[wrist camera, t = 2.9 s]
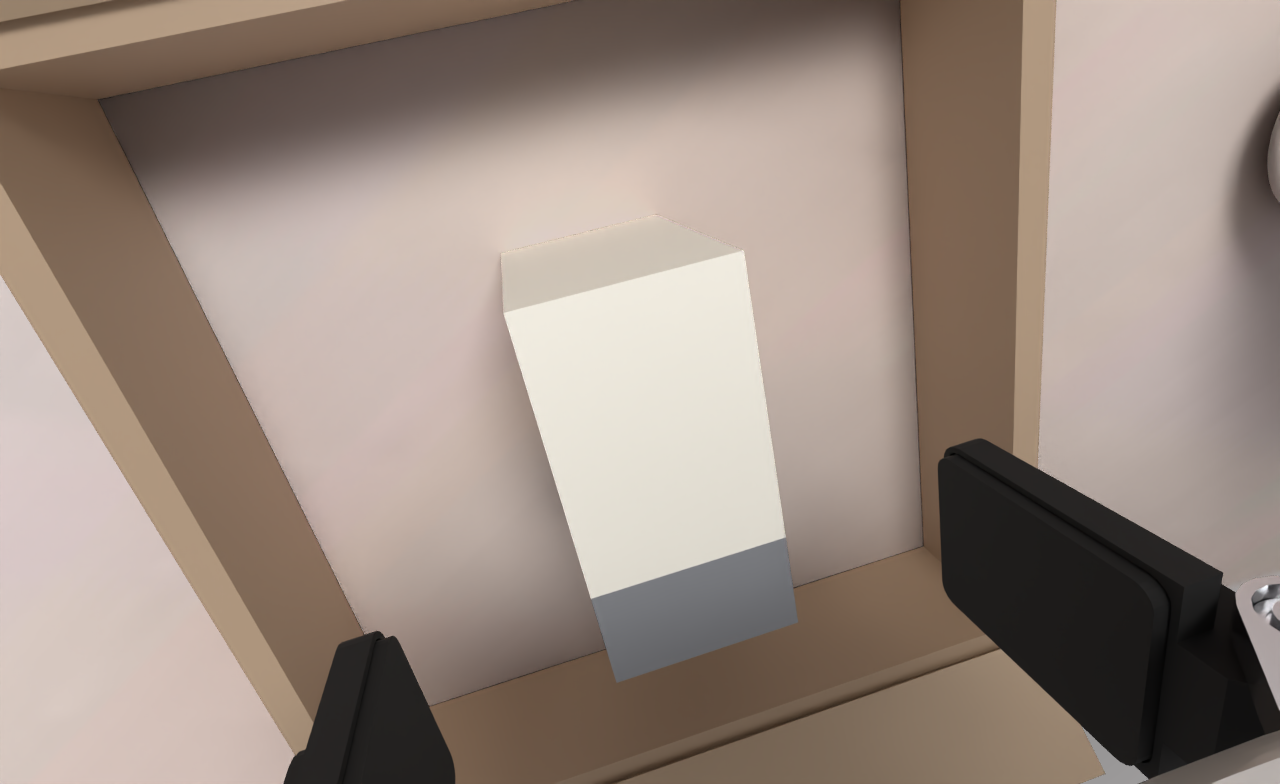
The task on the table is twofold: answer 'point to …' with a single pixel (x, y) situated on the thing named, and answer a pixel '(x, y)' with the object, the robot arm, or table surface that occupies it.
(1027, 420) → the carton
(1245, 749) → the robot arm
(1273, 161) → the plastic bottle
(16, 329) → the table surface
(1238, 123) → the table surface
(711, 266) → the box
